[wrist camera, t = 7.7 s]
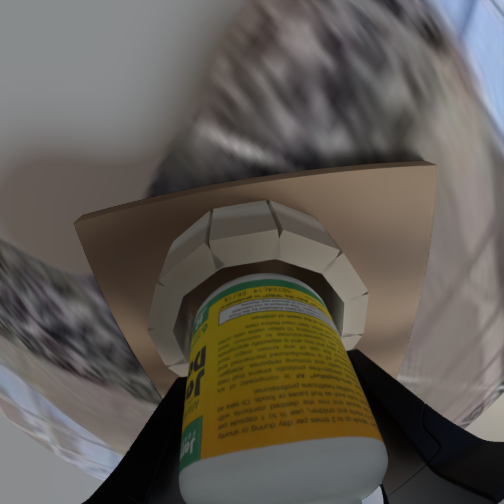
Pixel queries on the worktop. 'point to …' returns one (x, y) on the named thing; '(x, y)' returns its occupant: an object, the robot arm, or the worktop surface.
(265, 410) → the supplement bottle
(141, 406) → the worktop surface
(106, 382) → the worktop surface
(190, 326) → the board
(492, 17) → the worktop surface
